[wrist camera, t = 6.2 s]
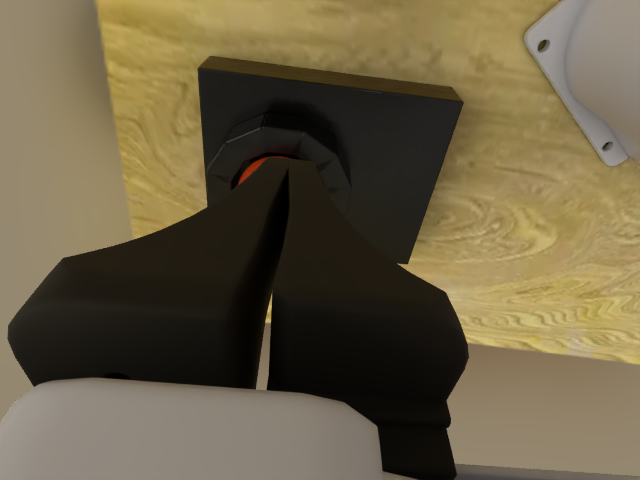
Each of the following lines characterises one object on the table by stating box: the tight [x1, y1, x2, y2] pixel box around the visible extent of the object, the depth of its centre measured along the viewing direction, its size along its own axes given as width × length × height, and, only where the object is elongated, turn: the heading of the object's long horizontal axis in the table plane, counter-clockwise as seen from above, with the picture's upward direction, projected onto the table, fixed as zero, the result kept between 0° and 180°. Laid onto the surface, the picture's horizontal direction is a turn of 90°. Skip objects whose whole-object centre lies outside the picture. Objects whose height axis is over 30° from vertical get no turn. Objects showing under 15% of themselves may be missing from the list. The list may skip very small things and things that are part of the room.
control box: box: [198, 56, 463, 264], centre depth 20 cm, size 12×10×4 cm
